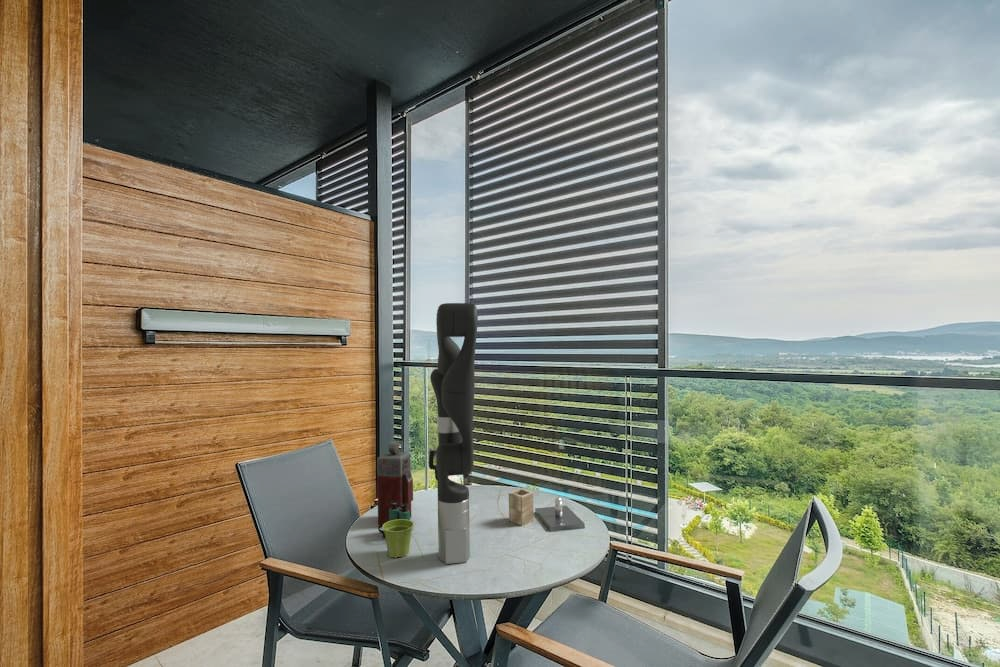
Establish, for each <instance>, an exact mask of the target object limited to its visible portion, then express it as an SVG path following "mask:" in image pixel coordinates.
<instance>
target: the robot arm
mask: <svg viewBox="0 0 1000 667" xmlns="http://www.w3.org/2000/svg"><path fill="white" fill-rule="evenodd" d="M478 316H479V314H478V308H477V306H476V304H474V303H472V302H469V303H468V302H463V303H462V302H445V303H441V304H440V305H439V306H438V307H437V311H436V338H437V347H438V356H437V357H438V358H437V368H435V369H433V370H432V372H431V373H430V383H431V387H432V388H433V389H432V390H433V392H434V394H435V399H436V404H437V439H438V441H437V442H438V446H437V447H436V449H432V448H429V450H428V467H429V469H430V470H434V479H435V480H436V481H437V533H438V534H437V536H438V537H437V538H438V539H437V542H438V543H437V544H438V546H437V547H438V550H437V552H438V560H439V561H441V562H443V563H444V564H445V565H450V564H460V563H467V562H468V560H469V559H470V556H471V547H470V546H471V543H470V542H471V541H470V540H471V539H470V538H471V536H470V530H471V529H470V492H469V491H470V490H469V488H468V487H467V486H466V485H465V484H462V483H458V482H455V481H454V480H451V479H450V478H449V477H450V476H451V477H452V476H462V477H463V479H464V480H465V479H467V478H468V477H469V474H471V473H472V472H473V468H474V463H475V462H474V461H475V460H474V459H475V458H474V454H475V453H474V431H473V429H474V425H473V424H474V422H473V421H474V408H475V407H474V405H475V387H476V386H475V362H476V361H475V359H476V357H475V356H476V346H477V345H476V344H477V333H478V323H479V321H478V319H479V317H478ZM452 338H463V343H462V346H461V348H460V347H459V345H458V344H457V343H456V342H455V341H454V340H453V339H452ZM434 458H435V459H434ZM434 460H436V463H435V464H434V462H435V461H434Z"/></svg>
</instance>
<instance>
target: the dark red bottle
mask: <svg viewBox="0 0 1000 667" xmlns="http://www.w3.org/2000/svg"><path fill="white" fill-rule="evenodd" d="M388 444H389V445H388V451H387V452H385V453H383V454H382V455H380V456H378V457H377V459H376V471H377V472H376V473H377V474H376V475H377V476H376V478H377V479H376V480H377V481H376V482H377V525H378V526H379V525H381V524H383V523H385V522H386V520H389V509H390V508H392V506H391V501H396V502H397V507H399V508H401V505H403V504H407V510H409V513H410V519H411V518H412V502H413V501H414V478H413V476H412V471H411V470H412V469H411V468H412V467H411V466H412V465H411V452H408V451H407V452H405V451H403V452H402V451H399V450H400V444H399V441H394V440H392V441H390V442H389V443H388ZM387 522H388V521H387Z"/></svg>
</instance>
